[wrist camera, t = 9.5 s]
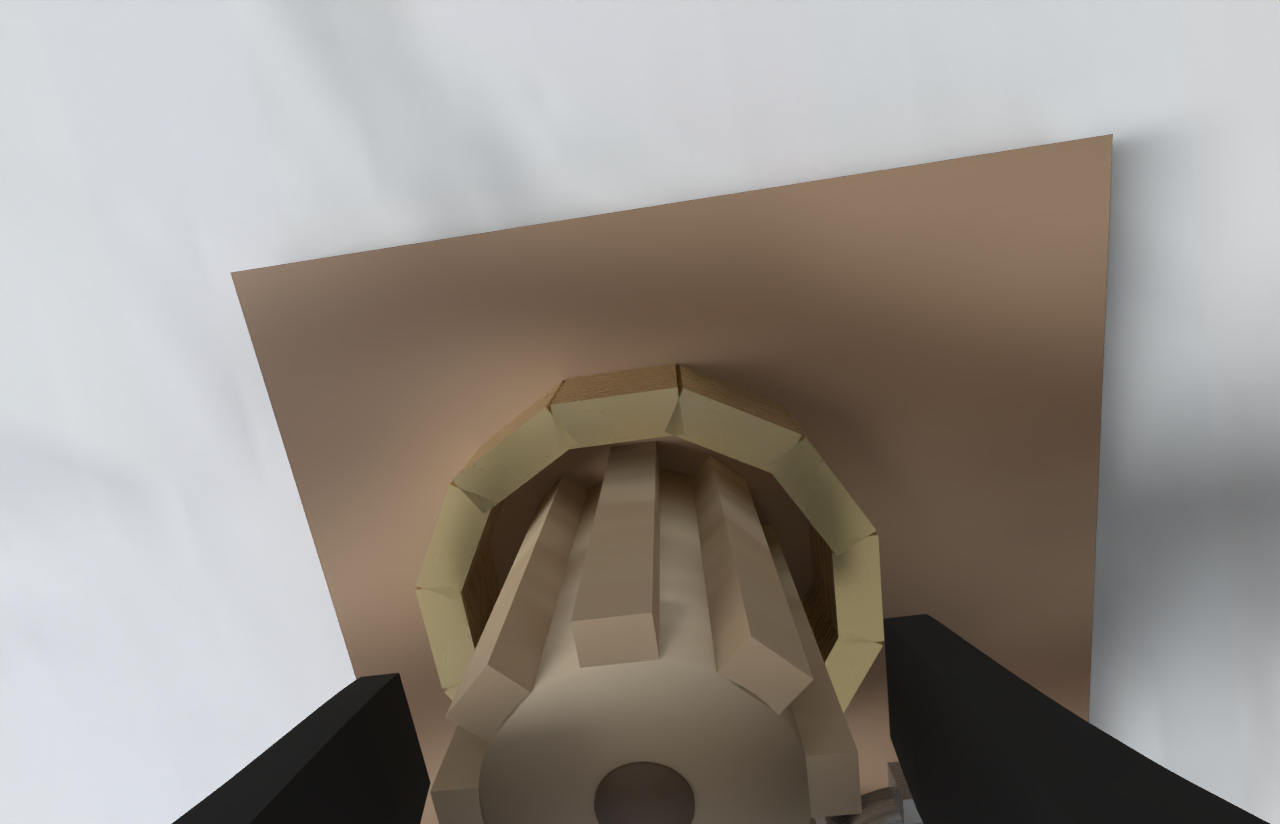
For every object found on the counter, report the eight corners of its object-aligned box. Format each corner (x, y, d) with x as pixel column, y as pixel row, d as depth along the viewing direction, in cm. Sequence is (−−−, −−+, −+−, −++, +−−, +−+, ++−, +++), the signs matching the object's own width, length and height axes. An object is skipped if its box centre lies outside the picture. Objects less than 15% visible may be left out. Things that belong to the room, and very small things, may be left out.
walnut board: (1043, 918, 18) (1077, 979, 16) (477, 962, 19) (462, 1022, 17) (1060, 145, 13) (1112, 133, 11) (275, 268, 14) (230, 272, 12)
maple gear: (784, 650, 14) (872, 949, 8) (554, 674, 14) (480, 978, 9) (761, 427, 13) (848, 594, 7) (508, 460, 13) (384, 646, 7)
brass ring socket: (860, 704, 14) (891, 778, 12) (500, 740, 15) (476, 816, 13) (835, 340, 12) (868, 361, 10) (415, 399, 13) (372, 429, 11)
